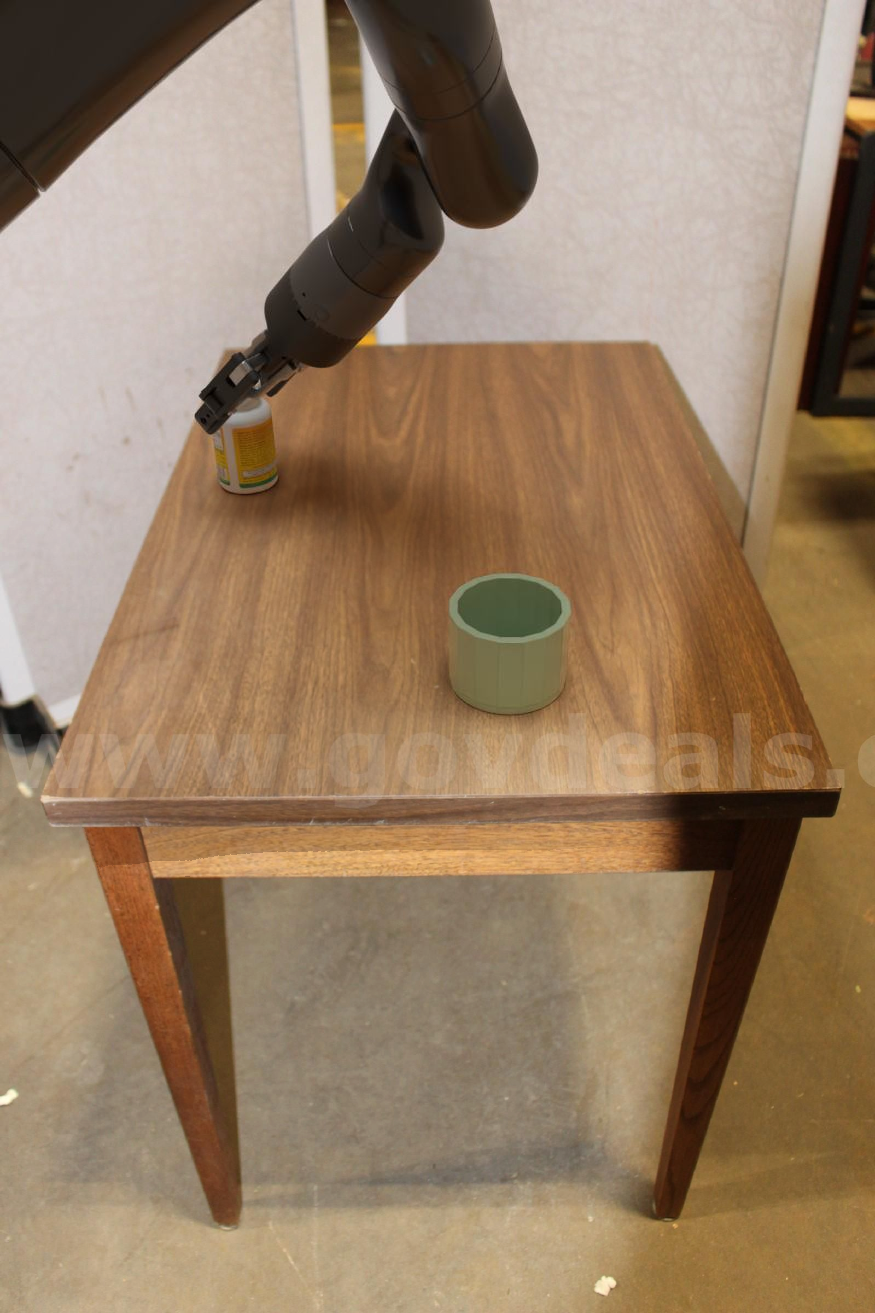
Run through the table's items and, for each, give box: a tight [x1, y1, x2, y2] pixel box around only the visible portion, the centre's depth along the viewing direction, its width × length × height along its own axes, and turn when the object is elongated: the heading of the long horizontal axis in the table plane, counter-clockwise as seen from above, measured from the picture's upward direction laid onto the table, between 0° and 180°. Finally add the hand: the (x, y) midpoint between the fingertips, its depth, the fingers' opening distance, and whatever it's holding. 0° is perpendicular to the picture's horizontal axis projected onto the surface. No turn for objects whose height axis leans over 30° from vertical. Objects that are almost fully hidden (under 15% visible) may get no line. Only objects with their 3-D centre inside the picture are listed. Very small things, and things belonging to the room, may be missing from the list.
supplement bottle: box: [211, 380, 279, 495], centre depth 94 cm, size 5×5×10 cm
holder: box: [448, 572, 572, 716], centre depth 72 cm, size 8×8×6 cm
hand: (234, 405), depth 93 cm, fingers open, 8 cm apart
